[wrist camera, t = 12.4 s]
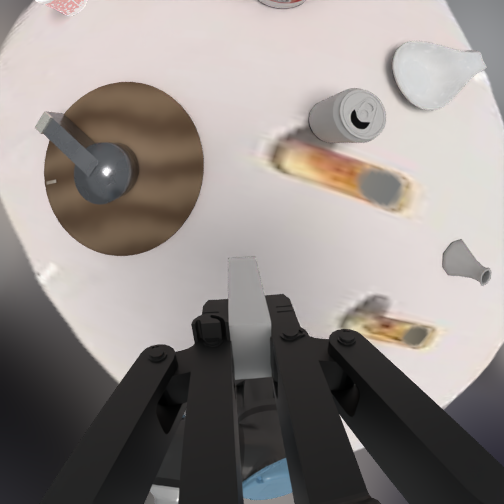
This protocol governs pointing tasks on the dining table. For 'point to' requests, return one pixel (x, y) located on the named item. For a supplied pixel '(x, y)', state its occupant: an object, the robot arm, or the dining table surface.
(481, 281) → the flask
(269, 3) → the fruit juice
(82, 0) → the beverage cup
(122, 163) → the dial
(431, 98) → the spoon rest
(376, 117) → the beverage can
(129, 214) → the dial board
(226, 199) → the dining table surface
